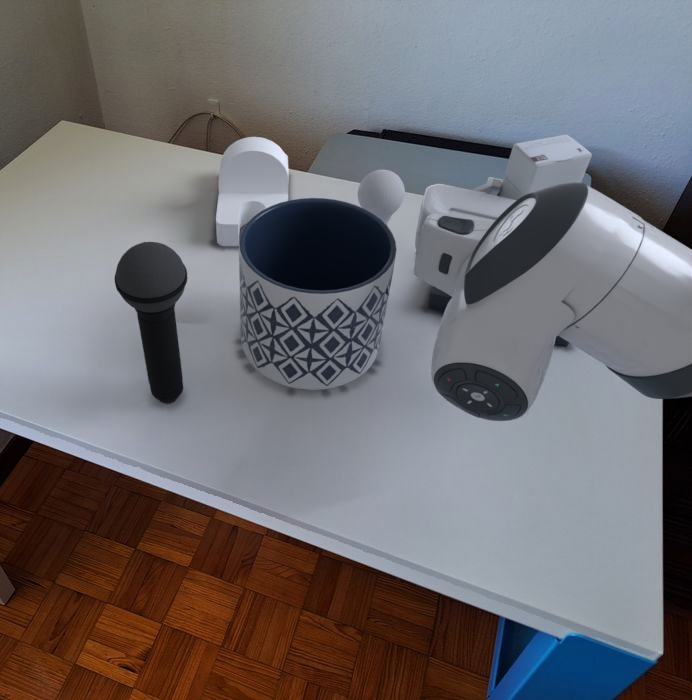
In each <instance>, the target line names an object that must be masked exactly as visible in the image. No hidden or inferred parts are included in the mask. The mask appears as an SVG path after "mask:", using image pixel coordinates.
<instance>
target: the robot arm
mask: <svg viewBox="0 0 692 700" xmlns="http://www.w3.org/2000/svg"><path fill="white" fill-rule="evenodd" d="M502 181H503V179H500V178H496V177H491V176H489V177H488V179H487V181H486V183H484V184H482V185H479V186H477V187H473V188H472V189H466V188H462V187H456V186H452V185H447V184H444V183H443V184H442V183H434V184H432V185H429V186H427V187H426V189H425V191H424V193H423V197H422V201H421V206H420V210H419V215H418V220H417V225H416V230H415V237H414V247H415V255H414V266H413V273H414V276H415V277H416V278H417V279H419V280H420V281H422V282H424V283H426V284H428V285H430V286H432V287H436V288H438V289H440V290H441V291H443V292H445V293H447V294H448V295H450V296H451V297H452V298H451V300H450V301H449V303H448V304H447V307H446V309H445V312H444V313H443V315H442V317H441V320H440V323H439V327H438V330H437V334H436V338H435V340H434V341H435V342H434V346H433V351H432V359H431V371H430V373H431V378H432V379H431V380H432V383H433V386H434V388H435V390H436V392H437V393H438V394H439V395H440V396H441V397H442V398H443V399H445V400H446V401H447V402H448V403H450V404H451V405H453V406H454V407H456V408H458V409H459V410H461V411H463V412H464V413H466V414H468V415H470V416H473V417H475V418H478V419H483V420H487V421H493V422H494V421H495V422H508V421H509V422H510V421H513V420H517V419H519V418H522V417H523V416H525V415H526V414H527V413H528V412H529V411H530V409H531V408H532V407H533V405H534V403H535V402H536V399H537V397H538V395H539V393H540V390H541V388H542V385H543V384H544V380H545V377H546V375H547V373H548V369H549V366H550V363H551V359H552V356H553V352H554V348H555V344H556V343H555V340H556V337H557V336H560V337H561V338H563V339H564V340H566V341H568V342H569V344H571V345H572V346H574V347H575V348H577V349H579V350H581V351H582V352H584V353H585V354H587V355H588V356H590V357H591V358H593V359H595V360H597V361H598V362H599V363H600V364H602V365H604V366H605V367H606V368H607V369H608V370H609V371H611V373H613V374H615V375H616V376H617V377H619V378H620V379H621V380H623V381H624V382H625V383H627V384H628V385H629V386H631V387H632V388H633V389H634V390H636V391H637V392H639V393H640V394H642V395H643V396H645V397H647V398H649V399H654V400H670V399H671V400H673V399H680V398H689V397H692V249H691V248H690V247H688V246H687V245H685V244H683V243H682V242H680V241H679V240H677V239H675V238H673V237H672V236H670V235H669V234H667V233H665V232H664V231H662V230H660V229H659V228H657V227H656V226H654V225H652V224H651V223H649V222H647V221H646V220H644V219H643V218H642V217H641V216H640V215H638V214H637V213H635V212H633V211H632V210H631V209H628V208H627V207H626V206H624V205H622V204H620V203H618V202H617V201H615V200H614V199H612V198H610V197H609V196H607V195H605V194H603V192H600V191H598V190H597V189H595V188H593V187H591V186H590V185H587V184H586V183H585V182H573V183H564V184H559V185H554V186H551V187H547V188H544V189H541V190H538V191H535V192H532V193H529V194H527V195H524V196H523V197H521V198H519V199H518V200H514V199H509V198H505V197H500V196H499V192H500V190H501V186H502Z"/></svg>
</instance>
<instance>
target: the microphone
mask: <svg viewBox="0 0 692 700" xmlns="http://www.w3.org/2000/svg"><path fill="white" fill-rule="evenodd" d="M187 282H188V270H187V267H186V265H185V264H184V262H183V260H182V258H181V257H180V256H179V254H178V253H177V252H176V250H174V249H173V248H171V247H170V246H168V245H166V244H164V243H162V242H158V241H157V242H156V241H143V242H140V243H136V244H135V245H133V246H131V247H129V248H128V249H127V250H126V251H125V252H124V253H123V254H122V255H121V257H120V259H119V261H118V263H117V265H116V270H115V274H114V285H115V289H116V291H117V292H118V294H119V295H120V296H121V298H122V299H123V301H124V302H125V303H126V304H128V305H129V306H130V307H131V308H133V309H134V310H135V312H136V316H137V321H138V329H139V333H140V338H141V345H142V350H143V357H144V362H145V363H144V364H145V368H146V369H145V370H146V374H147V380H148V385H149V390H150V392H151V395H152V397H154V399H156V400H157V401H158V402H160V403H162V404H165V405H170V404H173V403H175V402H176V401H177V400H178V399H179V398H180V396H181V395H182V393H183V391H184V382H183V379H184V377H183V369H182V360H181V352H180V342H179V336H178V335H179V334H178V325H177V318H176V308H175V307H176V304H177V302H178V301H179V300H180V298H181V297H182V296H183V294H184V291H185V288H186V286H187Z"/></svg>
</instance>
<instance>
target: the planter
mask: <svg viewBox="0 0 692 700" xmlns="http://www.w3.org/2000/svg"><path fill="white" fill-rule="evenodd" d="M396 241H397V240H396V238H395V236H394V233H393V232H392V230H391V229H390V227H389V226H388V224H387V225H386V224H385V223H384V222H383V221H382V220H381V219H380V218H378V217H377V216H376V215H374V214H373V213H371V212H369V211H368V210H366V209H364V208H361V206H360V205H359V206H358V205H356V204H354V203H351V202H347V201H343V200H338V199H333V198H325V197H305V198H303V197H302V198H296V199H288V201H285V202H281V203H278V204H275V205H273V206H270V207H268V208H266V209H264V210H262V211H261V212H259V213H258V214H256V215H255V216H254V217H253V218H252V219H251V220H250V221H249V222H248V223H247V224H245V225H244V227H243V229H242V230H241V234H240V235H239V246H238V269H239V270H238V273H239V275H238V276H239V277H238V278H239V315H240V317H239V318H240V320H239V321H240V340H241V348H242V351H243V353H244V355H245V357H246V358H247V361H248V362H249V363H250V365H251V366H252V367H253V368H254V369H255V370H256V371H258V373H260V374H261V375H262V376H264V377H266V378H268V379H269V380H271V381H272V382H275V383H277V384H280V385H283V386H286V387H289V388H293V389H297V390H298V389H300V390H307V391H309V390H310V391H316V390H317V391H318V390H328V389H334V388H338V387H341V386H344V385H347V384H349V383H351V382H353V381H355V380H357V379H358V378H359V377H361V376H362V375H364V374H365V373H366V372H367V371H368V370H369V369H370V368H371V366H372V365H373V364H374V362H375V360H376V358H377V355H378V353H379V350H380V345H381V339H382V334H383V328H384V324H385V318H386V312H387V307H388V301H389V297H390V296H389V295H390V291H391V286H392V280H393V275H394V268H395V263H396V257H397V251H398V250H397V242H396Z"/></svg>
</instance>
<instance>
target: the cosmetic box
mask: <svg viewBox="0 0 692 700" xmlns="http://www.w3.org/2000/svg"><path fill="white" fill-rule="evenodd" d="M592 156H593V155H592V152H591V151H589V150H588V149H587V148H586V147H584V145H582V144H581V143H579V142H578V141H577V140H576V139H574V138H573V137H571V136H570V135H568V134H561V135H556V136H550V137H545V138H539V139H535V140H527V141H523V142H517V143H513V146H512V149H511V152H510V155H509V157H508V161H507V165H506V169H505V172H504V175H503V179H502V180H503V181H502V186H501V190H500V192H499V196H500V197H505V198H509V199H514V200H518V199H519V198H521V197H523V196H524V195H527V194H529V193H532V192H535V191H538V190H541V189H544V188H547V187H551V186H554V185H559V184H564V183H573V182H582V181H583V178H584V177H585V173H586V171H587V169H588V167H589V164H590V162H591V159H592ZM582 183H583V182H582Z"/></svg>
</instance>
